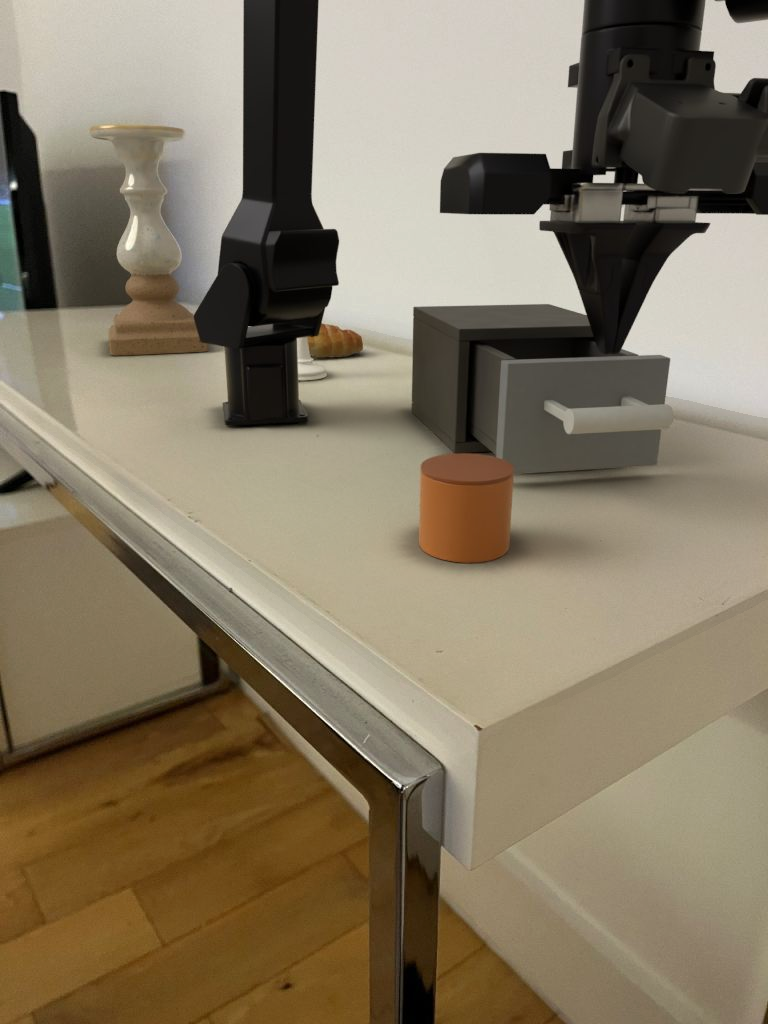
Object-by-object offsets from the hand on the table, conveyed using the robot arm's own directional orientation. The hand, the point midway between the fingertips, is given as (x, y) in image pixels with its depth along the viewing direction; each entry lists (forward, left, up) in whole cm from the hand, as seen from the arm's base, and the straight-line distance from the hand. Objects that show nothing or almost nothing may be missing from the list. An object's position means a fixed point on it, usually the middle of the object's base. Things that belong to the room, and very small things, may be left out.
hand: (608, 353), depth 46 cm
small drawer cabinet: (-17, 0, -9) cm, 19 cm away
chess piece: (-40, -13, -9) cm, 42 cm away
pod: (+5, -10, -9) cm, 14 cm away
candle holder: (-61, -28, -9) cm, 67 cm away
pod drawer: (-6, 0, -8) cm, 10 cm away
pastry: (-52, -10, -9) cm, 53 cm away
